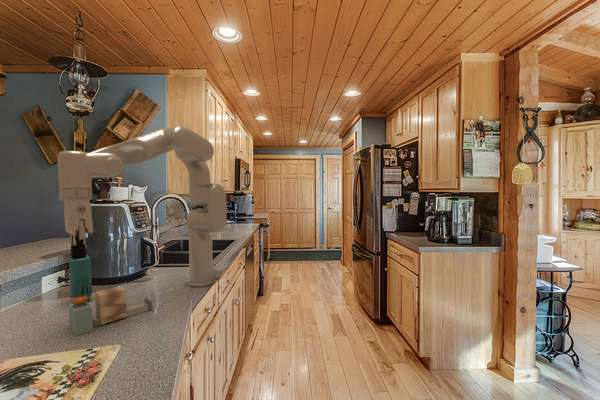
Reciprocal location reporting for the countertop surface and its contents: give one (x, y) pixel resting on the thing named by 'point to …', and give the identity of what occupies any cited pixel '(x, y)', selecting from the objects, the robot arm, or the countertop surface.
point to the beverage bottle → (80, 277)
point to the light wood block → (111, 304)
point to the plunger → (79, 301)
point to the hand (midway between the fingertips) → (78, 258)
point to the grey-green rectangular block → (80, 318)
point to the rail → (131, 310)
